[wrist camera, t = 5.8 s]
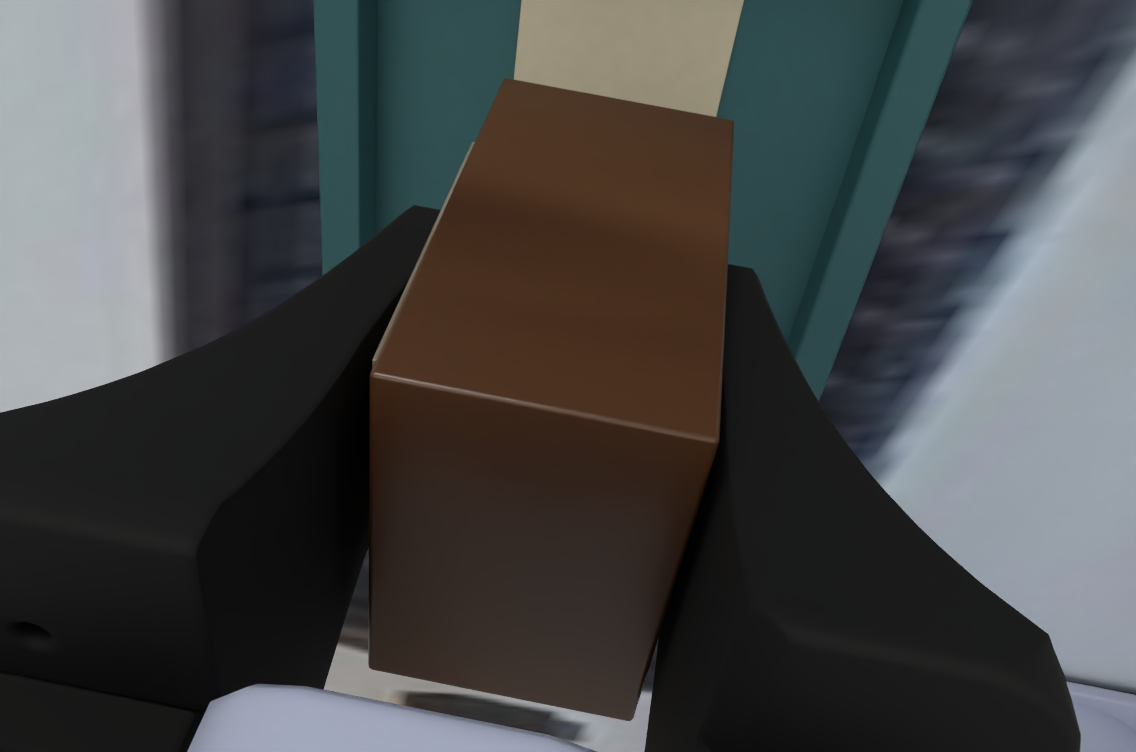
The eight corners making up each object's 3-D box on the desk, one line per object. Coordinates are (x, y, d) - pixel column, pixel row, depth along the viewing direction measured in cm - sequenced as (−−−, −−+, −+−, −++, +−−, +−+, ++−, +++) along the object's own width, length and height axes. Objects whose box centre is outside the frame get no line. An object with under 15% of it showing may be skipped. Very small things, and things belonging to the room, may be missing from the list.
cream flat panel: (626, 488, 26) (626, 491, 26) (477, 459, 26) (475, 462, 26) (756, -55, 17) (756, -53, 17) (531, -95, 17) (530, -94, 17)
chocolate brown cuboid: (669, 377, 16) (632, 723, 12) (466, 339, 16) (348, 667, 12) (736, 118, 13) (720, 442, 9) (488, 72, 13) (344, 368, 9)
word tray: (741, 556, 28) (740, 607, 26) (350, 479, 28) (329, 526, 27) (1008, -171, 16) (1030, -144, 15) (339, -288, 16) (302, -271, 15)
